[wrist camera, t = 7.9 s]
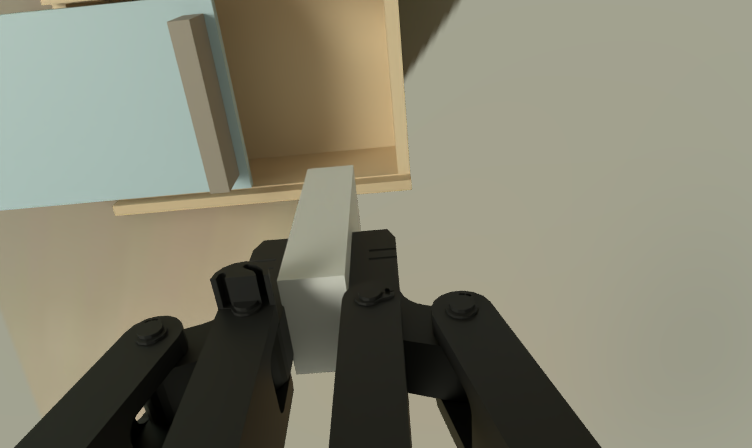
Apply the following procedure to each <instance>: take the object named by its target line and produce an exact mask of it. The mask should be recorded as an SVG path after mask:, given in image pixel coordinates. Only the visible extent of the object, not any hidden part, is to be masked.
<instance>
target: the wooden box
mask: <svg viewBox="0 0 752 448" xmlns="http://www.w3.org/2000/svg"><path fill="white" fill-rule="evenodd" d="M40 1H41V4H42V5H50V4H51V5H52V7H53V9H58V8H68V7H77V6H87V5H97V4H106V3H116V2H126V1H135V0H40ZM214 2H215V7H216V12H217V16H218V21H219V26H220V30H221V35H222V40H223V44H224V49H225V54H226V59H227V63H228V68H229V73H230V77H231V82H232V87H233V91H234V96H235V101H236V105H237V110H238V115H239V119H240V124H241V129H242V133H243V138H244V143H245V147H246V152H247V157H248V161H249V166H250V171H251V175H252V180H253V186H252V188H244V189H233V190H231V191H230V192H226V193H215V194H210V192H200V193H189V194H178V195H166V196H155V197H144V198H133V199H122V200H118V201H117V202H116V203H115V204H114V205H113V206H112V207H113V210H114V213H115V216H120V215H131V214H143V213H154V212H165V211H176V210H188V209H199V208H210V207H222V206H233V205H244V204H255V203H267V202H278V201H289V200H299V199H300V195H301V191H302V188H303V184H304V180H305V177H306V173H307V170H308V169H313V168H325V167H336V166H348V165H353V166H354V175H355V183H356V192H357V194H368V193H379V192H391V191H402V190H411V189H412V185H411V176H410V164H409V150H408V137H407V121H406V108H405V93H404V78H403V64H402V50H401V36H400V21H399V7H398V0H214Z"/></svg>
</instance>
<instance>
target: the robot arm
mask: <svg viewBox="0 0 752 448" xmlns="http://www.w3.org/2000/svg"><path fill="white" fill-rule="evenodd" d="M210 281H211V284H212V288H213V292H214V295H215V299H216V303H217V306H218V312H217V314H216V316H215V319H214V320H212V321H210V322H207V323H204V324H201V325H197V326H194V327H190V328H187V329H184V328H183V325H182V322H181V321H180V320H178V319H177V318H175V317H171V316H157V317H152V318H149V319H146V320H144V321H142V322H140V323H138V324H136V325H134V326H133V327H131V328H130V329H129V330H128V331H126V332H125V333H124V334H123V335H122V336H121V337H120V338H119V340H118V341H117V342H116V343H115V344H114V345H113V346H112V347H111V348H110V349H109V350H108V351H107V352H106V353H105V354H104V355H103V356H102V357H101V358H100V359H99V360H98V361H97V362H96V363H95V364H94V365H93V366H92V367H91V369H90V370H89V371H88V372H87V373H86V374H85V375H84V376H83V377H82V378H81V379H80V380H79V381H78V382H77V383H76V384H75V385H74V386H73V387H72V388H71V389H70V390H69V391H68V392H67V393H66V394H65V395H64V396H63V398H62V399H61V400H60V401H59V402H58V403H57V404H56V405H55V406H54V407H53V408H52V409H51V410H50V411H49V412H48V413H47V414H46V415H45V416H44V417H43V418H42V419H41V420H40V421H39V422H38V423H37V425H35V427H34V428H33V429H32V430H31V431H30V432H29V433H28V434H27V435H26V436H25V437H24V438H23V439H22V440H21V441H20V442H19V443H18V444H17V445H16V446H15V447H14V448H284V445H285V439H286V433H287V427H288V421H289V414H290V409H291V403H292V397H293V391H294V389H293V381H292V377H291V367H292V361H294V366H295V370H296V374H309V373H322V372H335V383H334V395H333V406H332V418H331V429H330V440H329V448H412V441H411V428H410V415H409V399H408V393H412V394H417V395H422V396H427V397H433V398H436V401H437V405H438V408H439V410H440V412H441V414H442V416H443V419H444V421H445V423H446V425H447V427H448V429H449V431H450V434H451V436H452V438H453V440H454V442H455V444H456V446H457V448H601V446H600V445H599V444H598V443H597V441H596V440H595V439H594V437H593V436H592V435H591V434H590V432H589V431H588V429H587V428H586V427H585V425H584V424H583V423H582V422H581V420H580V419H579V418H578V416H577V415H576V414H575V412H574V411H573V410H572V408H571V407H570V406H569V404H568V403H567V402H566V400H565V399H564V398H563V397H562V395H561V394H560V393H559V391H558V390H557V389H556V387H555V386H554V385H553V383H552V382H551V381H550V380H549V378H548V377H547V376H546V374H545V373H544V372H543V370H542V369H541V368H540V366H539V365H538V364H537V363H536V361H535V360H534V359H533V357H532V356H531V354H530V353H529V352H528V351H527V349H526V348H525V347H524V345H523V344H522V343H521V341H520V340H519V339H518V337H517V336H516V335H515V333H514V332H513V331H512V330H511V328H510V327H509V326H508V324H507V323H506V322H505V320H504V319H503V318H502V317H501V315H500V314H499V312H498V311H497V310H496V308H495V307H494V306H493V305H492V304H491V302H490V301H489V300H488V299H486V298H485V297H484V296H482V295H479V294H477V293H474V292H468V291H455V292H449V293H446V294H444V295H441V296H440V297H438V298H437V299H436V300H435V301H434V302H433V305H432V306H428V305H422V304H417V303H414V302H412V301H410V300H408V299H407V298H405V297H404V296H403V295H402V293H401V292H400V288H399V276H398V264H397V253H396V242H395V237H394V236H393V235H392V234H391V233H390V232H389V231H388V230H387V229H384V230H372V231H361V227H360V218H359V209H358V200H357V192H356V183H355V175H354V166H353V165H348V166H336V167H325V168H313V169H308V170H307V173H306V177H305V180H304V184H303V188H302V191H301V195H300V199H299V202H298V206H297V209H296V213H295V217H294V220H293V224H292V228H291V231H290V235H289V238H288V239H279V240H267V241H263V242H262V243H261V244H260V245H259V246H258V247H257V248H256V249H254V250H253V253H252V255H251V258H250V261H249V262H248V261H245V262H240V263H234V264H231V265H229V266H226V267H224V268H222V269H221V270H219V271H218V272H216V273H215V274H214V275H213V276H212V278H211V279H210ZM143 406H144V408H145V411H146V412H145V413H144V415H143V416H142V417H141V418H140V419H139V420H138V421H136V419H135V417H136V415H137V414H138V412H139V411H140V410H141V409H142V407H143Z"/></svg>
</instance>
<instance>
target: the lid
mask: <svg viewBox="0 0 752 448" xmlns="http://www.w3.org/2000/svg"><path fill="white" fill-rule="evenodd" d="M252 186H253V180H252V175H251V171H250V166H249V161H248V157H247V152H246V147H245V143H244V138H243V133H242V129H241V124H240V119H239V115H238V110H237V105H236V101H235V96H234V91H233V87H232V82H231V77H230V73H229V68H228V63H227V59H226V54H225V49H224V44H223V40H222V35H221V30H220V26H219V21H218V16H217V12H216V7H215V2H214V0H135V1H126V2H116V3H106V4H97V5H87V6H77V7H68V8H58V9H48V10H39V11H29V12H19V13H10V14H0V210H11V209H22V208H33V207H44V206H55V205H66V204H77V203H89V202H100V201H111V200H122V199H133V198H144V197H155V196H166V195H178V194H189V193H200V192H210V194H215V193H226V192H230V191H231V190H233V189H244V188H252Z"/></svg>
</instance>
